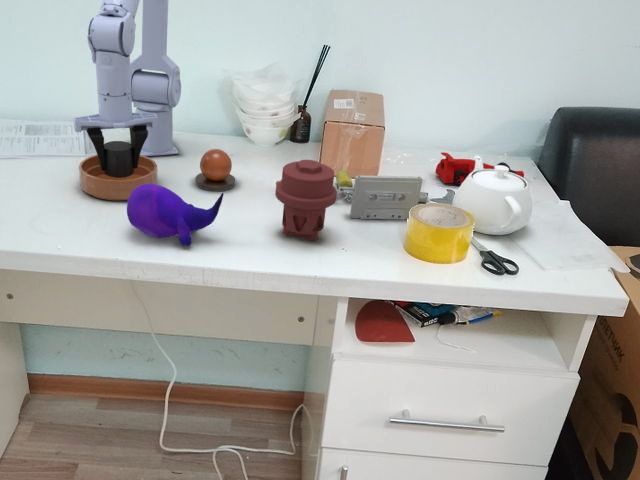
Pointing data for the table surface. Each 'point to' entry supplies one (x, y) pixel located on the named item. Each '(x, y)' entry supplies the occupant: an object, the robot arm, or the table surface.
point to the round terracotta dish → (115, 179)
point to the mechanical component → (305, 197)
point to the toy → (167, 213)
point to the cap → (118, 159)
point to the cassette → (384, 207)
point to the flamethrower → (347, 188)
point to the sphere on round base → (215, 171)
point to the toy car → (461, 169)
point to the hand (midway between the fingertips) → (118, 167)
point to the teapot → (495, 199)
